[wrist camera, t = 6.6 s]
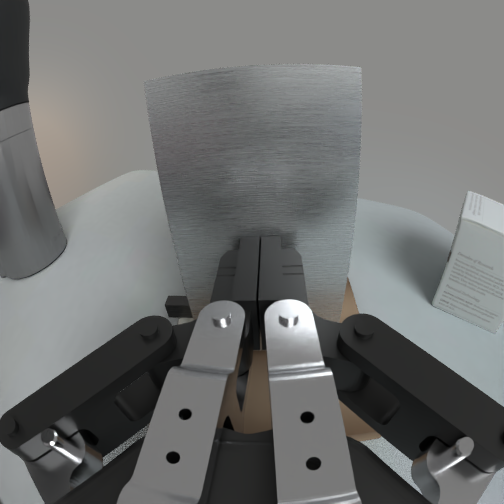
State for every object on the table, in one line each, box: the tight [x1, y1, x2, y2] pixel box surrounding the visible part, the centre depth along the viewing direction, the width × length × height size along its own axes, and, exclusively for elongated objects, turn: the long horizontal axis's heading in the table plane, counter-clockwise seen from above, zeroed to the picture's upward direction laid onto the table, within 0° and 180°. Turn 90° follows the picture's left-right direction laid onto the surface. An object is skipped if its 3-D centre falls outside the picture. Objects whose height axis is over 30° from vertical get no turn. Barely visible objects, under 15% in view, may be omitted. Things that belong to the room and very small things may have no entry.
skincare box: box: [432, 191, 504, 334], centre depth 16 cm, size 6×6×7 cm
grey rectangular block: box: [144, 64, 362, 350], centre depth 13 cm, size 5×9×13 cm, turn 87°
